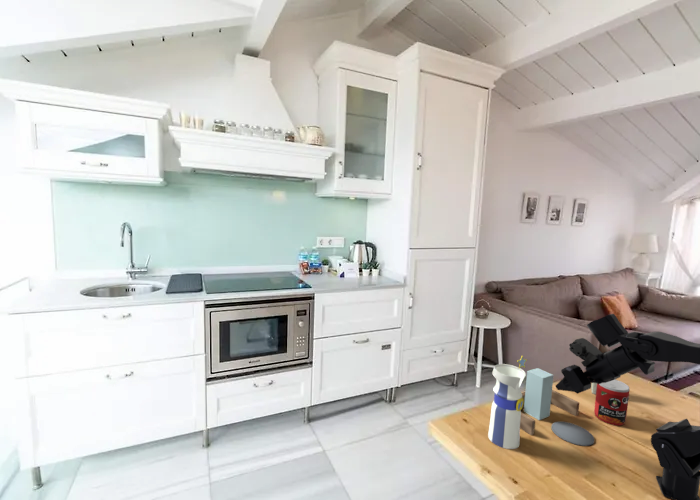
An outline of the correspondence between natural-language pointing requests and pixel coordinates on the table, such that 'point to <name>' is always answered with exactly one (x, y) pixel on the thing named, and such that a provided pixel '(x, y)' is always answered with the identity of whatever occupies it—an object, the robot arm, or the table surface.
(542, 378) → the block
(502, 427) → the blue striped jug
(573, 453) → the table surface
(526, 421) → the u-shaped wooden frame
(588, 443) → the coaster
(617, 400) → the canned food
